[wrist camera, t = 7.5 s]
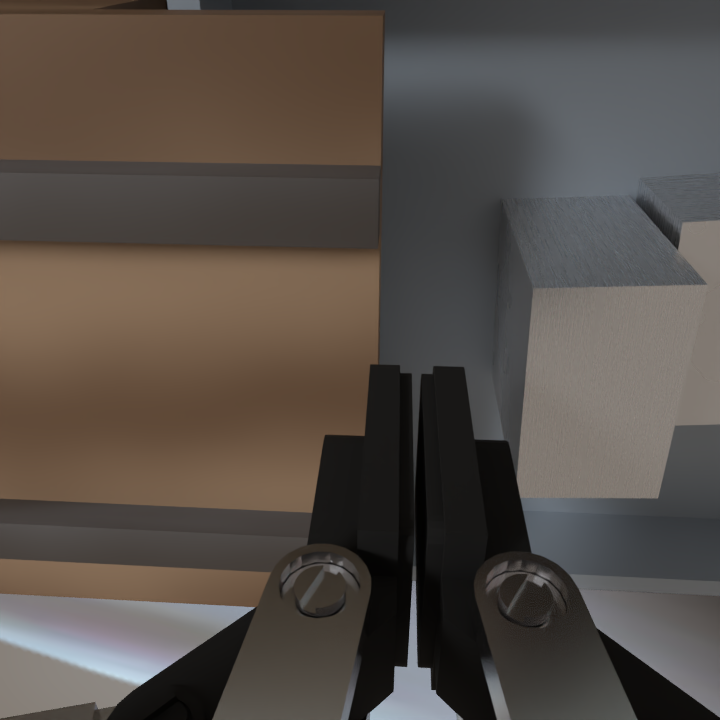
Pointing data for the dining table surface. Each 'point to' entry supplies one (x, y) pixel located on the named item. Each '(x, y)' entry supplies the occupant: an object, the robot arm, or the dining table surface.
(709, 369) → the chip
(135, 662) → the dining table surface
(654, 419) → the chip
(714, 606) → the dining table surface
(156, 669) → the dining table surface
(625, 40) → the tray
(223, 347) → the slot board
